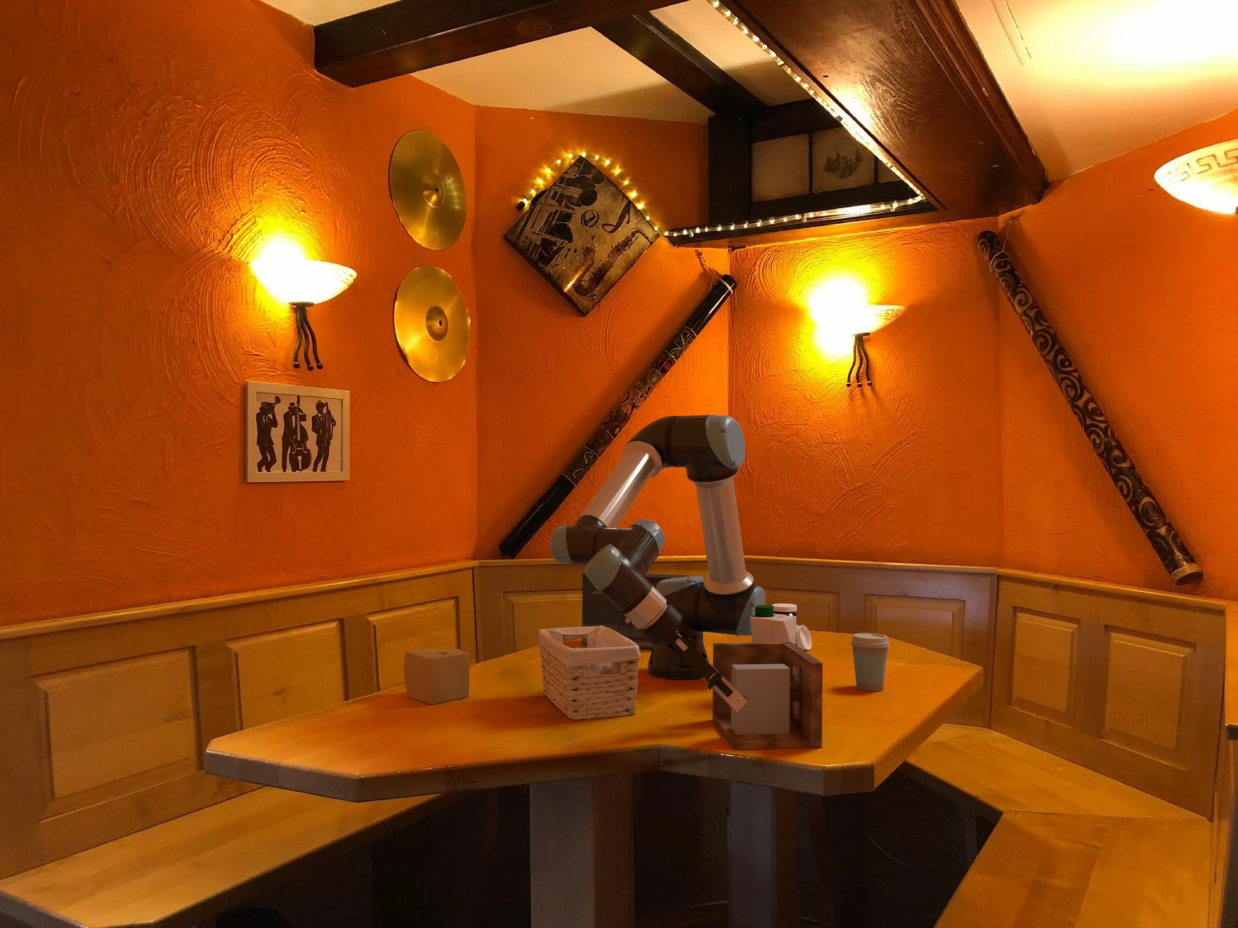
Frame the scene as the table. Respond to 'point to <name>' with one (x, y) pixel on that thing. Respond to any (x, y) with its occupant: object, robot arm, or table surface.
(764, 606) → the milk carton
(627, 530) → the robot arm
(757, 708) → the door
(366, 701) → the table surface
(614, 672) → the storage basket
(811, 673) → the cabinet
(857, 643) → the coffee cup
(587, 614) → the cassette player
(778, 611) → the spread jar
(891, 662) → the table surface
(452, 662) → the beige cube with hole
